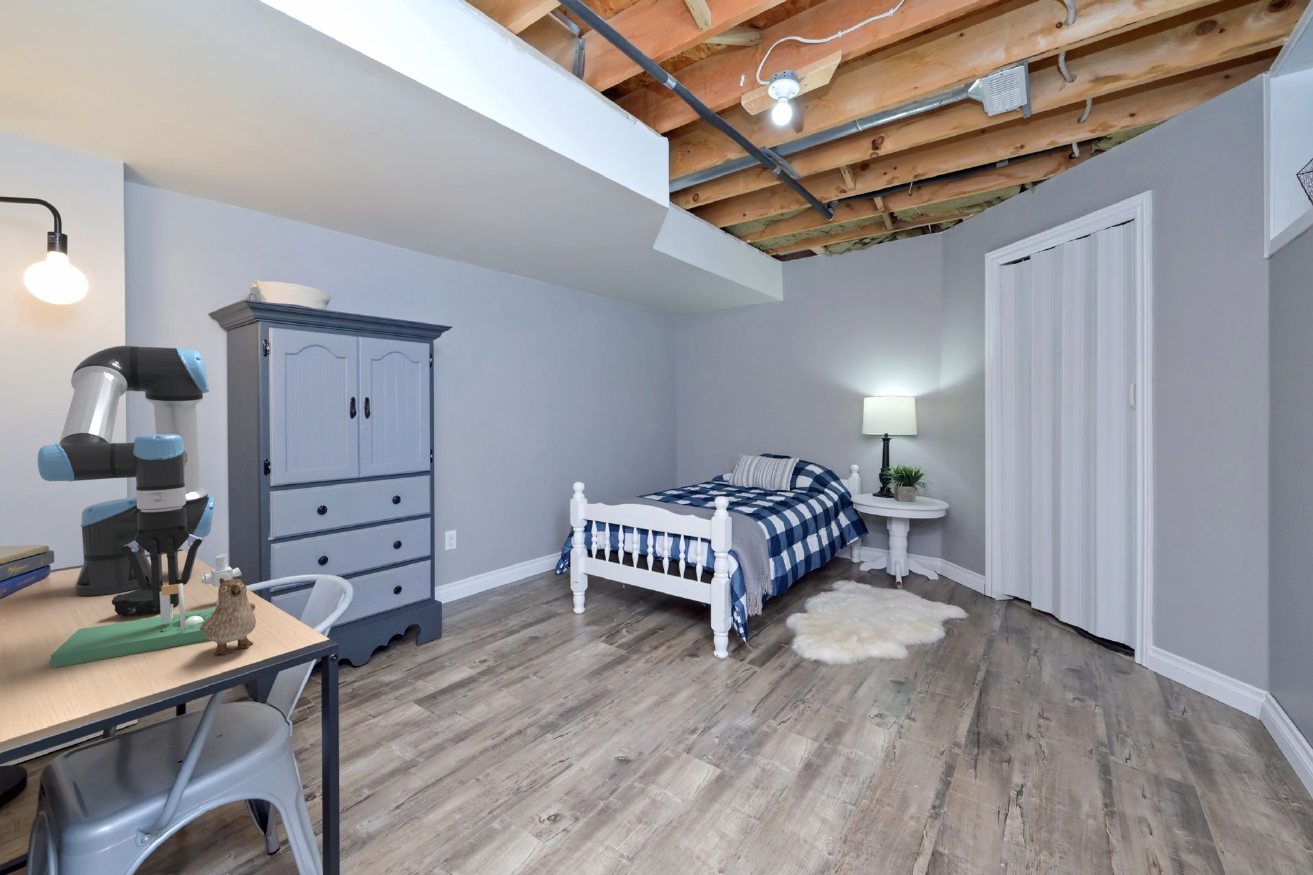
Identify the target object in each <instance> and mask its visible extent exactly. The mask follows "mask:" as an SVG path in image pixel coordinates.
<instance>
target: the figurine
mask: <svg viewBox="0 0 1313 875" xmlns="http://www.w3.org/2000/svg"><path fill="white" fill-rule="evenodd" d="M242 575H243V574H242ZM242 575H239V576H236V578H233V579H229V580H224V579H223V578H220V587H219V588H218V592H217V597H218V596H219V603H218V606H216V607H215V608H216V609H215V608H214V609H215V611H214V613H213V614H212V615H211V617H210V618H209V619H207V620H206V621H205V622H204V623H203V624H202V626H201V627H200V628H199V630H205V635H206V638H207V639H209V641H211V642H214V643H216V644H217V645H216V650H215V652H214V653H213V656H217V655H227V654H228V653H229V652H230V651H231V649H230V648H228V647H227V646H228V645H227V643H231V642H235V641H237V645H236V647H235V648H234V650H240V649H241V650H242V649H249V647H250V646H251V645H254V642H252V641H251V640H249V638H248V637H247V636H248V635H250V634H251V633H252V632H253V631H254V629H255V628H256V625H257V624H256V623H257V621H256V620H257V619H256V615H255V613H254V611H255V609H256V605H255V603H253V602H250V601H249V599H248V595H247V586H246V583H244V582H243V581H242V577H243V576H242Z"/></svg>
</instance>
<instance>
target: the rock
mask: <svg viewBox="0 0 1313 875" xmlns="http://www.w3.org/2000/svg"><path fill="white" fill-rule="evenodd" d="M111 604H112V606H114V612H115V613H116V615H117V616H121V617H131V616H132V617H133V616H138V615H139V616H140V615H144V616H145V615H146V616H147V615H155V614H161V610H160V606H154V604H153V592H152V591H151V590H141V589H140V588H137V589H134V590H133V591H131V592H127V593H120V594H117V595H115V596H113V597H112V600H111ZM177 606H179V600H178V602H177V603H176V604H173V608H176V607H177Z"/></svg>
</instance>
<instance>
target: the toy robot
mask: <svg viewBox="0 0 1313 875" xmlns="http://www.w3.org/2000/svg"><path fill="white" fill-rule="evenodd" d="M214 559H215V568H213V569H211V573H206V574H204V576H201V583H202V584H203V583H204V584H205V585H210V584H211V585H212V586H213V587H214V588H215V587H218V589H219V587H220V578H223V579H224V580H229V579H234V577H236V578H237V577H238V576H239V575H243V573H242V572H241V570H240V568H239V567H235V568H232V567H231V566H228V553H222V554H220V555H217V556H215V557H214ZM218 603H219V596H218V595H217V600H216V601H215V602H214V604H215V606H216V607H217V606H218Z"/></svg>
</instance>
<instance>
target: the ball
mask: <svg viewBox="0 0 1313 875" xmlns="http://www.w3.org/2000/svg"><path fill="white" fill-rule="evenodd" d="M203 621H204V619H203V618H202V617H200V616H192V617H189V618H188V619H186V620H185V626H191V625H195V624H198V623H201V622H203Z"/></svg>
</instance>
